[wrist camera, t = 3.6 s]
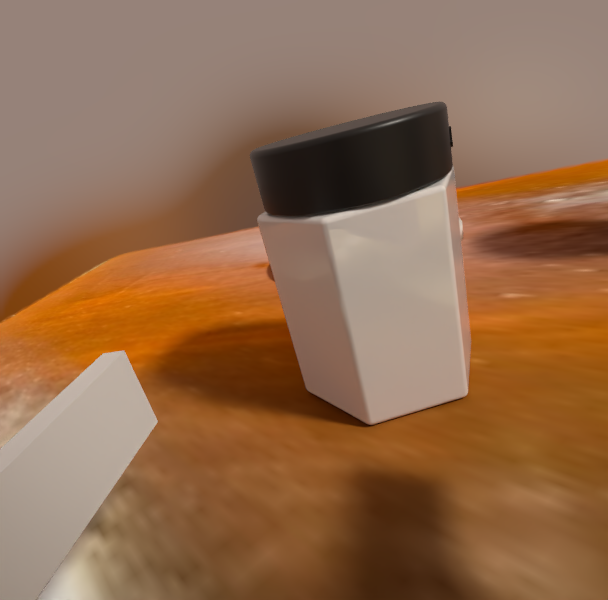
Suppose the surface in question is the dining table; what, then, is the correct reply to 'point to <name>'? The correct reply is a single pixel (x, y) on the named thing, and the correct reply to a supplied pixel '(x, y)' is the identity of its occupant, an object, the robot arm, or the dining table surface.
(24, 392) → the dining table surface
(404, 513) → the dining table surface
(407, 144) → the jar
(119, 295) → the dining table surface
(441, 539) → the dining table surface
